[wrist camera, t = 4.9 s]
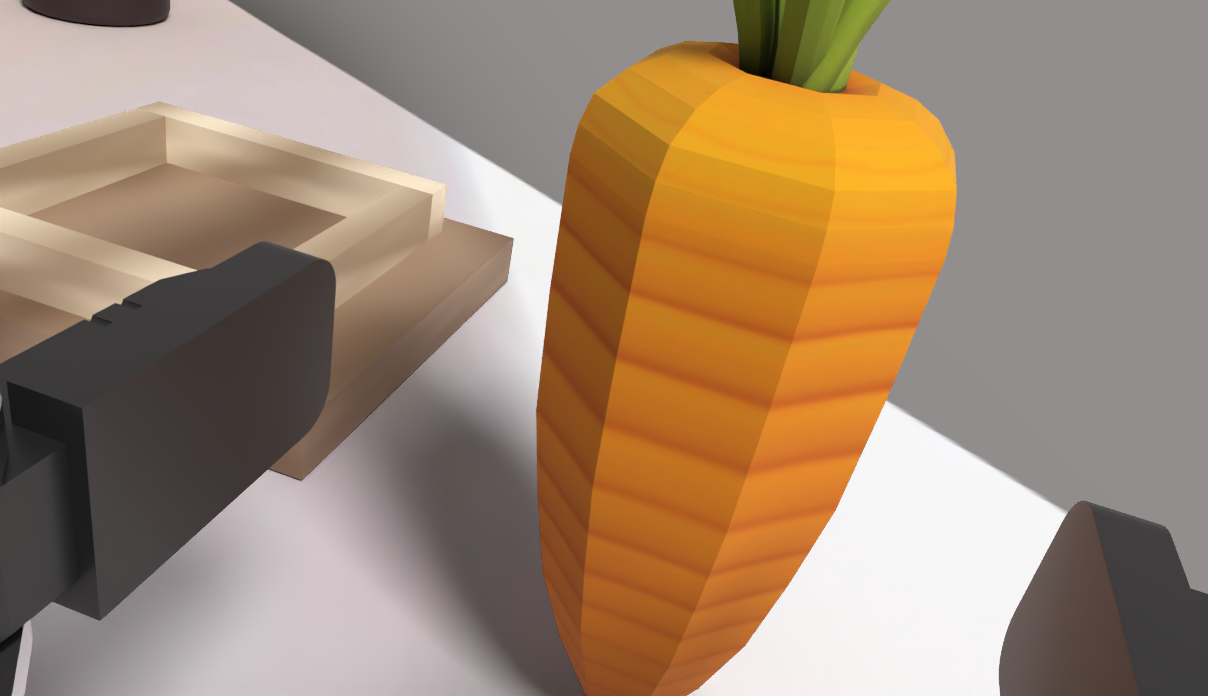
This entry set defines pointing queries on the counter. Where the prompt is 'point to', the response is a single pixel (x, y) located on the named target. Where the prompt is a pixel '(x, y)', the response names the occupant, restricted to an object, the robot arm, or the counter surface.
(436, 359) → the counter surface
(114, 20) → the bottle
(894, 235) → the carrot
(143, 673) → the counter surface
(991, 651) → the counter surface
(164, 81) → the counter surface
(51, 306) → the beige wooden tray
